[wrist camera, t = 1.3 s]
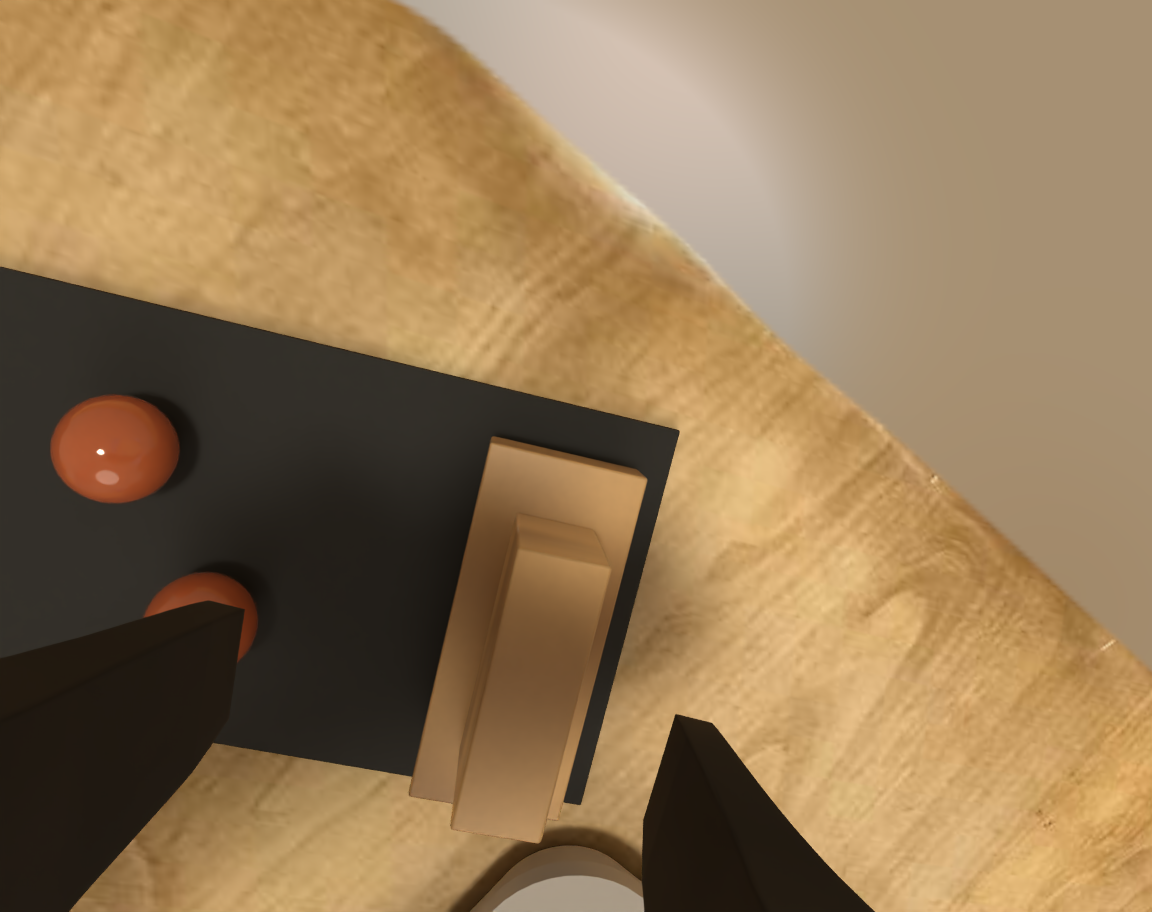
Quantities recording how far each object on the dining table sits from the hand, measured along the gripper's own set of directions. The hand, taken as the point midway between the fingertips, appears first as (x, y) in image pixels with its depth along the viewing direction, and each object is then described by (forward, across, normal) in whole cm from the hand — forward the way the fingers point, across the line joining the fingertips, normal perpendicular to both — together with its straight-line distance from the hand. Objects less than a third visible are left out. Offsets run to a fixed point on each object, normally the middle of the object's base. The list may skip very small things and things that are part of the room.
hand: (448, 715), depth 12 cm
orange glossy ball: (+8, +11, 0) cm, 14 cm away
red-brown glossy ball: (+8, +8, +5) cm, 12 cm away
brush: (+11, -1, +3) cm, 11 cm away
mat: (+10, +9, +3) cm, 14 cm away
